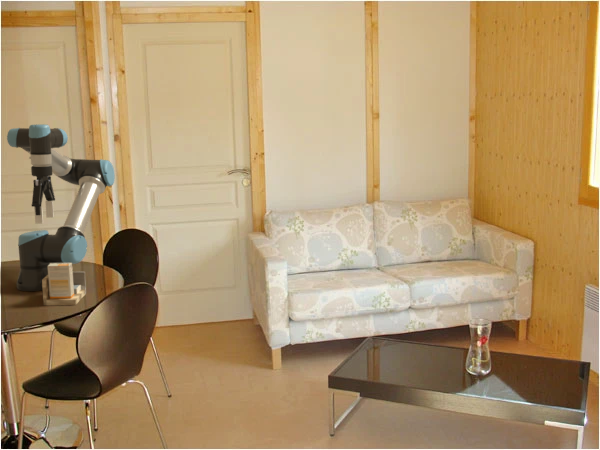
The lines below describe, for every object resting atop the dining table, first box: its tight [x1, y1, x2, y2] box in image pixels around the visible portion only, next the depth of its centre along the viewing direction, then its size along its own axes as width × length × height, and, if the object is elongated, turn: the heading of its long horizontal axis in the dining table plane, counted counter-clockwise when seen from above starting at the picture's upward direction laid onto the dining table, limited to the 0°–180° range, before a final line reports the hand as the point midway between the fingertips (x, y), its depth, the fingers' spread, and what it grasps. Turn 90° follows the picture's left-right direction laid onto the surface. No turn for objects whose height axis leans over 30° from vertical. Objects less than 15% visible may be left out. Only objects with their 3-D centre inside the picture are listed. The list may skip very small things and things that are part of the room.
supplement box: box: [48, 263, 74, 299], centre depth 267 cm, size 8×5×13 cm, turn 93°
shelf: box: [42, 271, 87, 306], centre depth 272 cm, size 16×12×10 cm
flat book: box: [74, 285, 81, 294], centre depth 275 cm, size 6×8×2 cm
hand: (44, 220), depth 270 cm, fingers open, 13 cm apart
